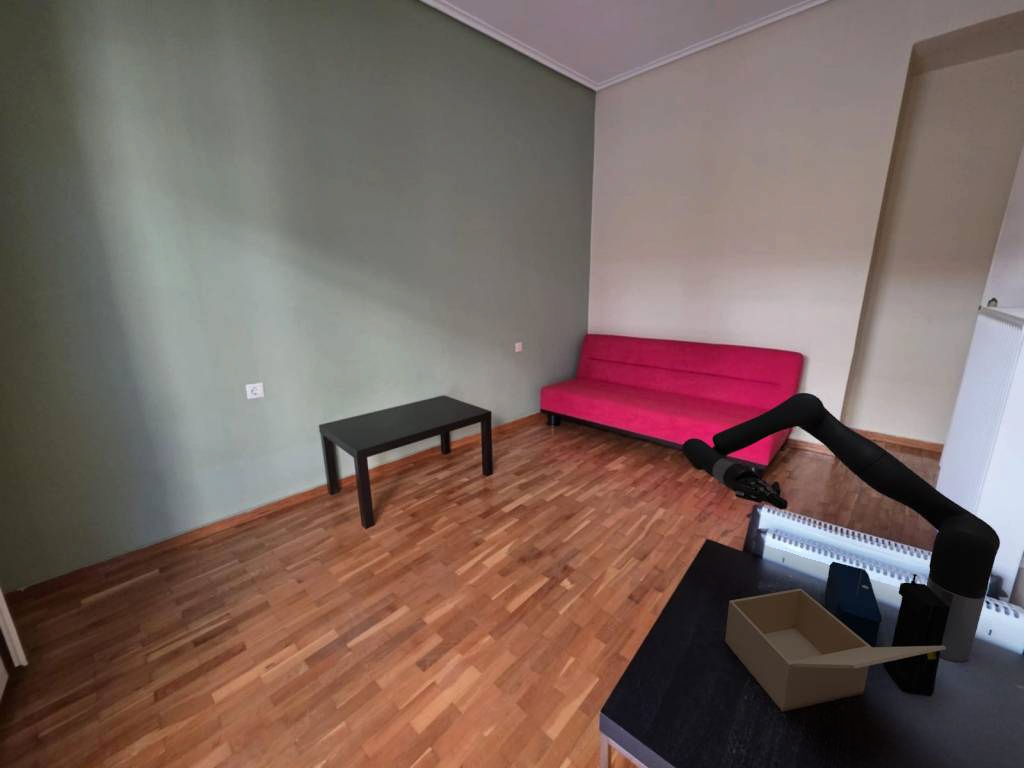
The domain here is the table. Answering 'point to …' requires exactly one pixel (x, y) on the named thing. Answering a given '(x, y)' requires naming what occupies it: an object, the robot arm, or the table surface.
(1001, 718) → the table surface
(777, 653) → the kraft carton
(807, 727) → the table surface
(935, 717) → the table surface
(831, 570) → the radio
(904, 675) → the portable radio
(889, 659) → the carton flap
